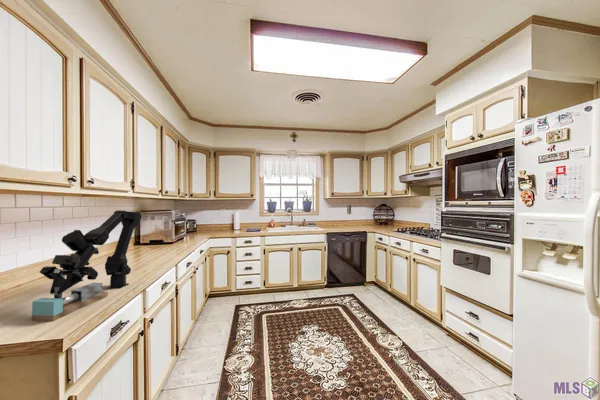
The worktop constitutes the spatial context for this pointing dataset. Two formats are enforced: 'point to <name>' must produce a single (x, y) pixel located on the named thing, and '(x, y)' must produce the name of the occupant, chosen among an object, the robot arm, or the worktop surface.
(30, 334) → the worktop surface
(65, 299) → the slip tube
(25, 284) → the worktop surface
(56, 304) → the socket block
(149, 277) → the worktop surface
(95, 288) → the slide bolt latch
